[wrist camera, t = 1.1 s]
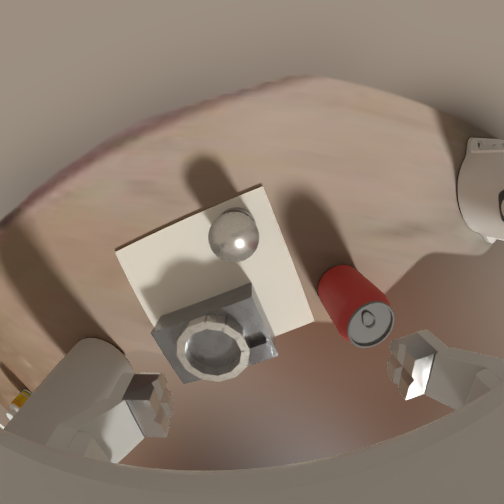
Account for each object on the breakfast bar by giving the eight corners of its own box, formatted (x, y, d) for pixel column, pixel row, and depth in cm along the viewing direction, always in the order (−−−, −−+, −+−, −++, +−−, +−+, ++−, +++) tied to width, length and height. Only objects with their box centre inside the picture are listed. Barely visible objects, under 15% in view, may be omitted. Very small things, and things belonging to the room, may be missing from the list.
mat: (262, 186, 35) (262, 186, 34) (313, 319, 39) (314, 321, 39) (116, 251, 37) (114, 252, 36) (179, 365, 41) (178, 366, 41)
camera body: (251, 282, 37) (252, 303, 31) (275, 336, 40) (279, 363, 33) (160, 315, 39) (146, 339, 32) (189, 363, 41) (181, 391, 34)
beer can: (348, 254, 37) (386, 284, 26) (367, 290, 39) (406, 329, 27) (308, 280, 38) (332, 321, 26) (330, 315, 39) (357, 362, 28)
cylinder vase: (141, 355, 41) (78, 478, 16) (131, 401, 43) (86, 507, 19) (76, 324, 39) (-12, 416, 15) (74, 374, 42) (11, 462, 18)
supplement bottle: (42, 407, 45) (24, 430, 36) (29, 402, 45) (11, 424, 36) (32, 390, 44) (13, 413, 35) (19, 386, 44) (0, 408, 35)
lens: (247, 200, 35) (247, 204, 28) (263, 238, 36) (266, 251, 29) (209, 216, 35) (200, 224, 28) (225, 253, 36) (220, 269, 30)
